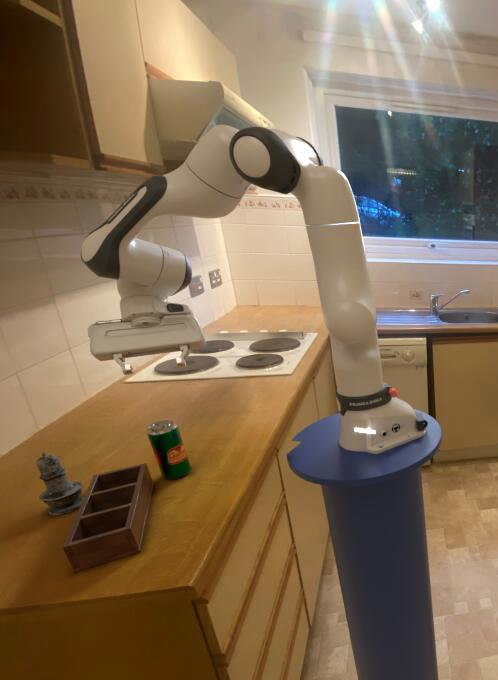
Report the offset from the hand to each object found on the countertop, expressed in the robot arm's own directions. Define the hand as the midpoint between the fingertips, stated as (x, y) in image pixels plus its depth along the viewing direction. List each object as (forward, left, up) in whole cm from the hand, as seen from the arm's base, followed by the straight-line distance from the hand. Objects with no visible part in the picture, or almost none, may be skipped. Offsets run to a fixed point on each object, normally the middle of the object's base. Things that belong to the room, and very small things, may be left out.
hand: (155, 369), depth 96 cm
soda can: (0, +13, -20) cm, 24 cm away
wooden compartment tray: (+8, +26, -20) cm, 34 cm away
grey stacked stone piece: (+17, +15, -20) cm, 30 cm away
